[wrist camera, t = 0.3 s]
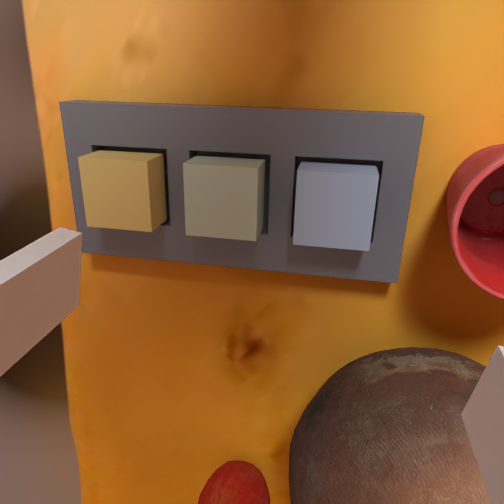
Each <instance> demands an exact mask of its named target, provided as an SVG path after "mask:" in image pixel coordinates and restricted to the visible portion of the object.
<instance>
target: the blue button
mask: <svg viewBox="0 0 504 504" xmlns="http://www.w3.org/2000/svg"><path fill="white" fill-rule="evenodd" d="M378 181H379V173H378V170H377V167H376V166H369V165H351V164H334V163H316V162H301V163H300V165H299V168H298V170H297V182H296V199H295V216H294V232H293V245H304V246H316V247H327V248H338V249H350V250H361V251H369V249H370V241H371V234H372V226H373V218H374V211H375V203H376V196H377V188H378Z"/></svg>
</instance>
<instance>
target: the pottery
mask: <svg viewBox="0 0 504 504" xmlns="http://www.w3.org/2000/svg"><path fill="white" fill-rule="evenodd" d="M485 368H486V366H484V365H482V364H480V363H478V362H476V361H473V360H471V359H469V358H467V357H465V356H462V355H459V354H457V353H453V352H448V351H444V350H439V349H432V348H415V347H410V348H397V349H390V350H384V351H379V352H375V353H371V354H369V355H366V356H363V357H360V358H358V359H356V360H354V361H352V362H350V363H348V364H347V365H345V366H344V367H342V368H341V369H339V370H338V371H337V372H336V373H335V374H333V375H332V376H331V377H330V378H329V379H328V380H327V381H326V382H325V383H324V385H323V386H322V387H321V388H320V390H319V391H318V392H317V394H316V395H315V397H314V398H313V399H312V401H311V402H310V403H309V405H308V406H307V407H306V409H305V411H304V413H303V415H302V417H301V419H300V421H299V422H298V424H297V426H296V428H295V431H294V434H293V438H292V441H291V444H290V453H289V487H290V500H291V504H491V502H490V499H489V496H488V493H487V490H486V487H485V484H484V481H483V478H482V475H481V472H480V469H479V467H478V464H477V461H476V458H475V455H474V452H473V449H472V446H471V443H470V440H469V437H468V434H467V431H466V428H465V425H464V422H463V419H462V416H461V414H462V412H463V410H464V408H465V406H466V404H467V402H468V400H469V398H470V396H471V395H472V393H473V391H474V389H475V387H476V385H477V383H478V381H479V379H480V377H481V376H482V374H483V372H484V370H485Z"/></svg>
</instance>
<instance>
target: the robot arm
mask: <svg viewBox="0 0 504 504" xmlns="http://www.w3.org/2000/svg"><path fill="white" fill-rule="evenodd" d="M81 246H82V233H80V232H77V231H73V230H69V229H65V228H62V227H59V228H57V229H56V230H54V231H52V232H50V233H49V234H47V235H45V236H43V237H42V238H40V239H38V240H36V241H35V242H33V243H31V244H29V245H27V246H26V247H24V248H22V249H20V250H19V251H17V252H15V253H13V254H12V255H10V256H8V257H6V258H4V259H3V260H1V261H0V376H1V375H3V374H4V373H5V372H6V371H7V370H8V369H9V368H10V367H11V366H12V365H14V364H15V363H16V362H17V361H18V360H19V359H20V358H21V357H22V356H24V355H25V354H26V353H27V352H28V351H29V350H30V349H31V348H32V347H33V346H35V345H36V344H37V343H38V342H39V341H40V340H41V339H42V338H43V337H45V335H47V334H48V333H49V332H50V331H51V330H52V329H53V328H55V327H56V326H57V325H58V324H59V323H60V322H61V321H62V320H63V319H65V318H66V317H67V316H68V315H69V314H70V313H71V312H72V311H73V310H74V309H76V308H77V307H78V306H79V295H80V271H81ZM461 416H462V419H463V422H464V425H465V428H466V431H467V434H468V437H469V440H470V443H471V446H472V449H473V452H474V455H475V458H476V461H477V464H478V467H479V469H480V472H481V475H482V478H483V481H484V484H485V487H486V490H487V493H488V496H489V499H490V502H491V504H504V347H503V346H499V345H497V347H496V349H495V351H494V353H493V355H492V357H491V359H490V360H489V362H488V364H487V366H486V368H485V370H484V372H483V374H482V376H481V377H480V379H479V381H478V383H477V385H476V387H475V389H474V391H473V393H472V395H471V396H470V398H469V400H468V402H467V404H466V406H465V408H464V410H463V412H462V414H461Z"/></svg>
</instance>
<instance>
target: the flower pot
mask: <svg viewBox="0 0 504 504" xmlns="http://www.w3.org/2000/svg"><path fill="white" fill-rule="evenodd" d="M447 219H448V229H449V237H450V242H451V246H452V250H453V253H454V255H455V258H456V260H457V262H458V264H459V266H460V267H461V269H462V270H463V272H464V273H465V274H466V275H467V277H468V278H469V279H470V280H471V281H472V282H473V283H474V284H476V285H477V286H478V287H479V288H481V289H482V290H484V291H486V292H487V293H489V294H491V295H493V296H495V297H498V298H500V299H503V300H504V144H499V145H493V146H489V147H486V148H483V149H481V150H479V151H477V152H475V153H473V154H472V155H470V156H469V157H468V158H467V159H465V160H464V161H463V162H462V163H461V164H460V165H459V167H458V168H457V169H456V170H455V172H454V174H453V175H452V177H451V179H450V182H449V185H448V189H447Z"/></svg>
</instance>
